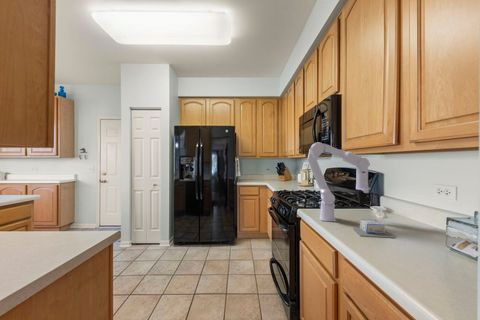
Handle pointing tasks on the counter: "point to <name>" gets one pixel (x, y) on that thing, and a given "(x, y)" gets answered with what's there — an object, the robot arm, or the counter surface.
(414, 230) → the counter surface
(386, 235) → the mat
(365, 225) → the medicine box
